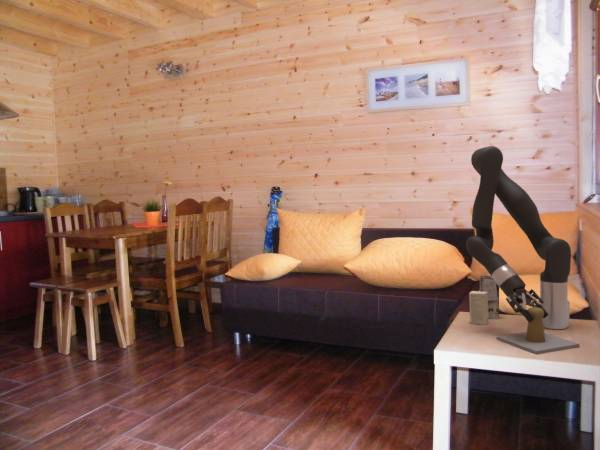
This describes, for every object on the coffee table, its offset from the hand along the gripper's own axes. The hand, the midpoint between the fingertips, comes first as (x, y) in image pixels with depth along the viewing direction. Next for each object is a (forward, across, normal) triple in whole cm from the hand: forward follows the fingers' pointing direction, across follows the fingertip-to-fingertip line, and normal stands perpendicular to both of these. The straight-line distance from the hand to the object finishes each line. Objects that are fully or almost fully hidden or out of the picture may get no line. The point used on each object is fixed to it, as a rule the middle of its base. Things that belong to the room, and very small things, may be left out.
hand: (539, 318), depth 173 cm
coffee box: (-17, +20, +29) cm, 39 cm away
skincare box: (-14, +8, +27) cm, 31 cm away
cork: (+5, 0, +6) cm, 8 cm away
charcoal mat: (+5, 0, +7) cm, 8 cm away
